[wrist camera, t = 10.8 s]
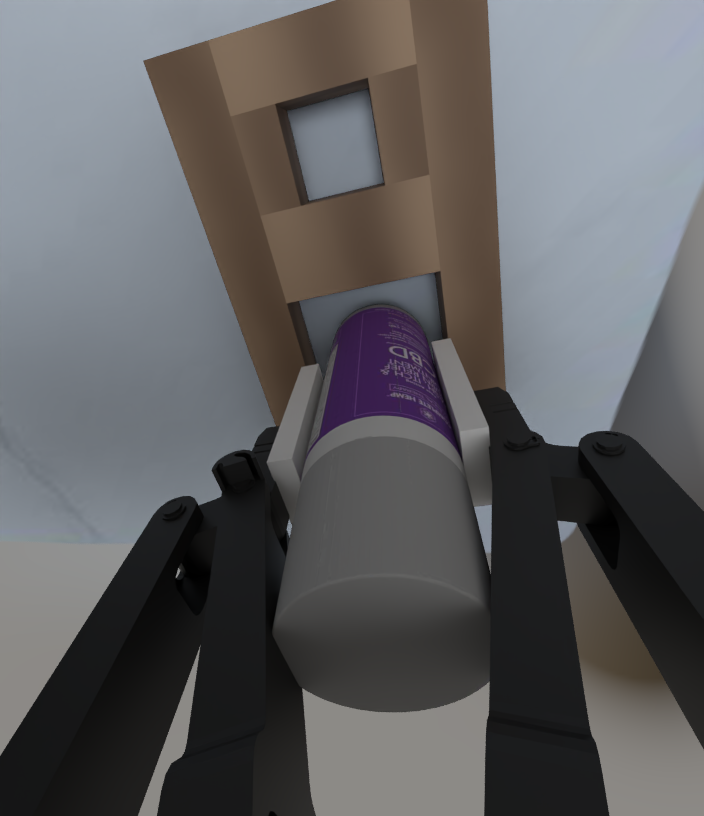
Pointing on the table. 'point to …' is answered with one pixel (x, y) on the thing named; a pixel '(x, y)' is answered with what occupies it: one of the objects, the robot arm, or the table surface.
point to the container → (384, 534)
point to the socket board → (355, 210)
